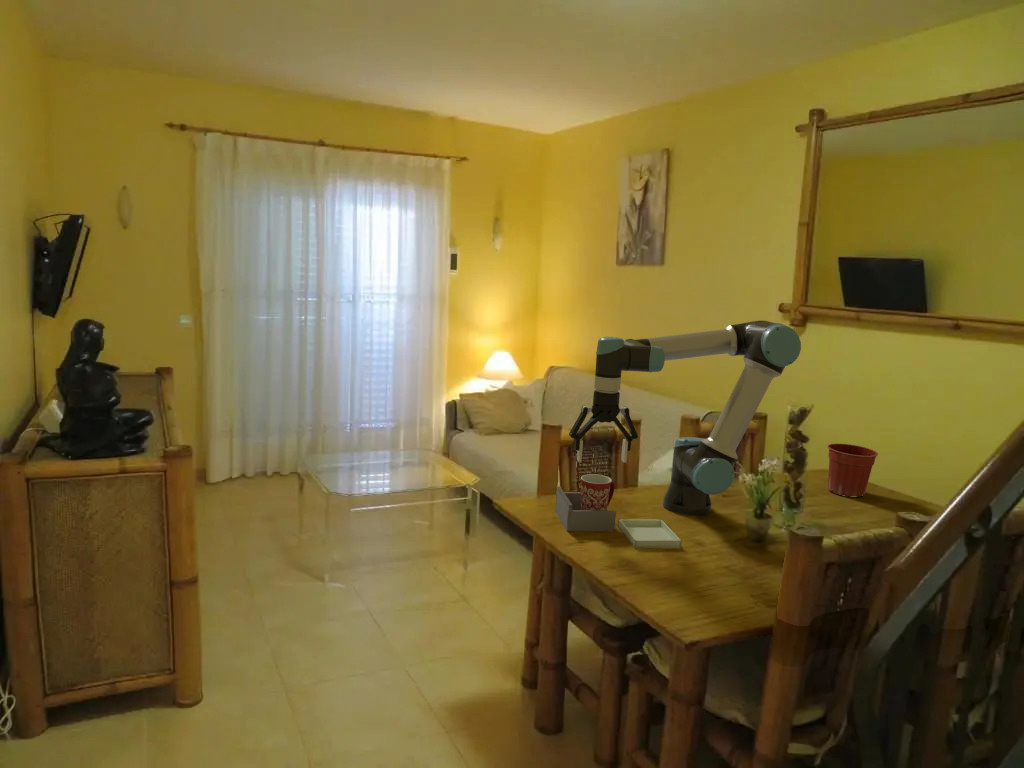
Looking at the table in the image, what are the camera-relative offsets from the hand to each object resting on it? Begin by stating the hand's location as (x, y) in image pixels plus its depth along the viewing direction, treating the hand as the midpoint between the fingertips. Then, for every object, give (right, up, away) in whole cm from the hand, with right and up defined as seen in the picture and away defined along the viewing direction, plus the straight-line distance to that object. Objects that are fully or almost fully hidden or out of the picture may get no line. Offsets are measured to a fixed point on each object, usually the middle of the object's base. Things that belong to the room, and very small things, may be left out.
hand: (601, 461), depth 215 cm
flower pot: (+94, -16, +47) cm, 106 cm away
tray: (+12, -21, -7) cm, 25 cm away
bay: (-5, -18, +3) cm, 19 cm away
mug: (-1, -18, +3) cm, 19 cm away
